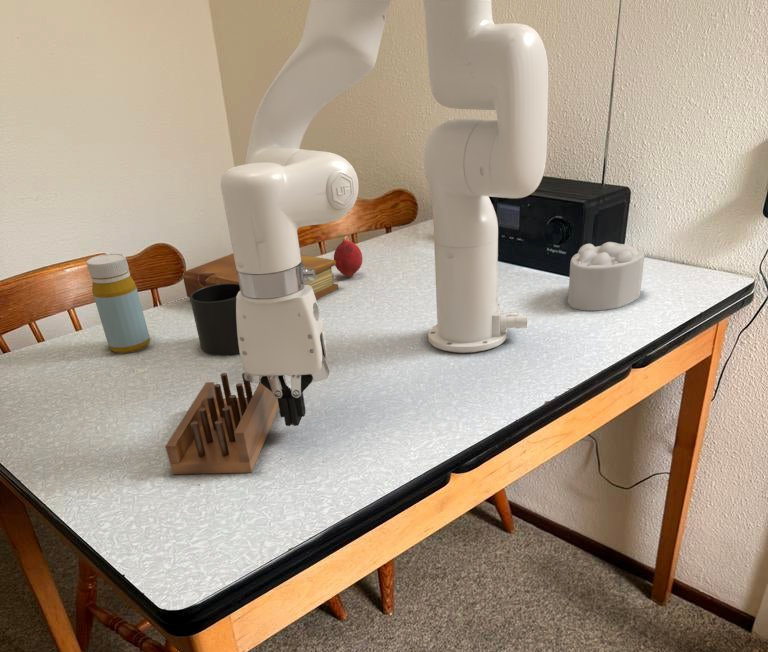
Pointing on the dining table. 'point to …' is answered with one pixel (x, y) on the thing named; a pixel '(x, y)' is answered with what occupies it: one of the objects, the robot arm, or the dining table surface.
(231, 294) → the mug
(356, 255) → the onion
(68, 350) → the dining table surface
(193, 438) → the rack
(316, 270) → the diary
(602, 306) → the lumpy-topped squat cylinder
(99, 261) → the bottle
